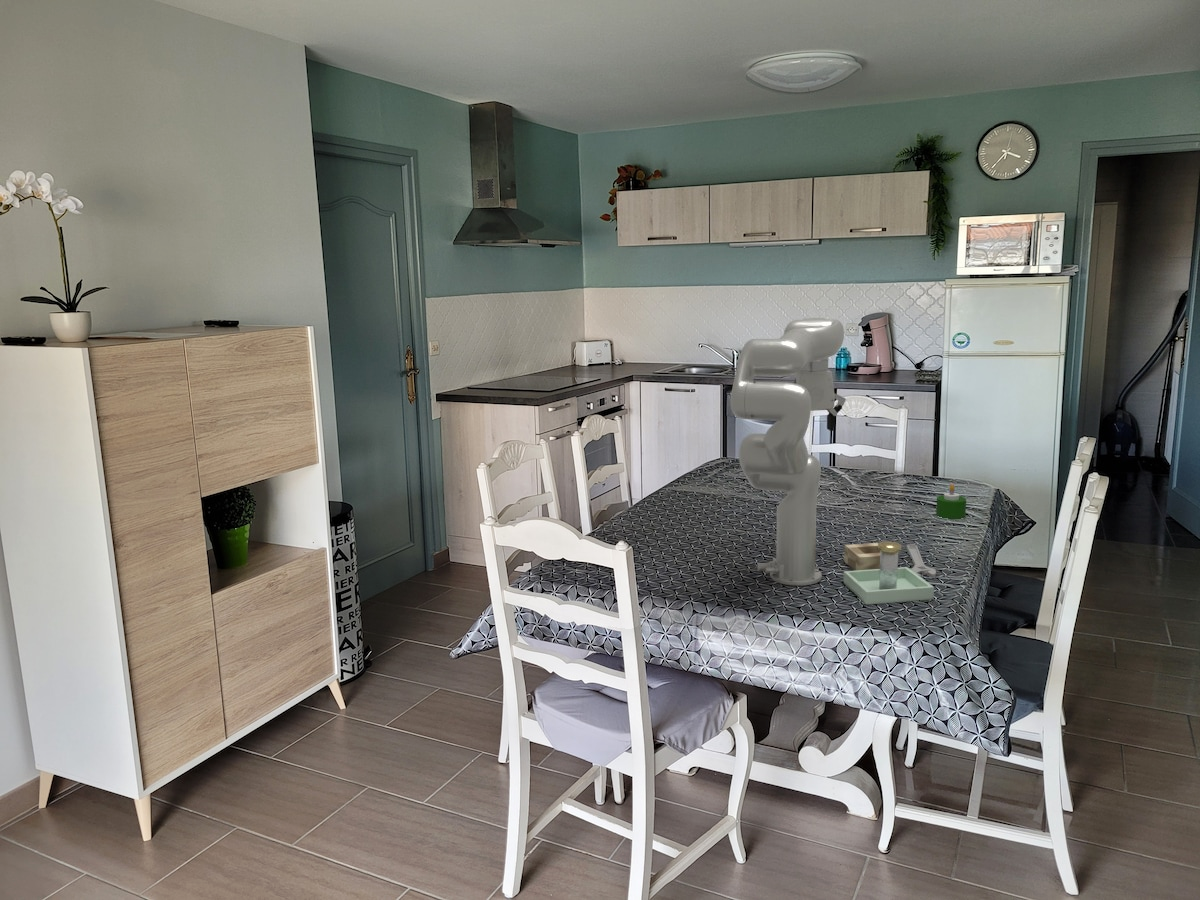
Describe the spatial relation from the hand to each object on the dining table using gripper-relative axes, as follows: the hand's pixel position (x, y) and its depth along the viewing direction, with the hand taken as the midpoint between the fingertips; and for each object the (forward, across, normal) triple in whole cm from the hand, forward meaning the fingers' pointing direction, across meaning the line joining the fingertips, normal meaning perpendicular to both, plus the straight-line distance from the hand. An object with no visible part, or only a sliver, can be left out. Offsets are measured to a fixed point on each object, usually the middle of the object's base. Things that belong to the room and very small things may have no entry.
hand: (812, 431), depth 231 cm
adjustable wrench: (+34, +24, -14) cm, 44 cm away
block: (+33, +11, -14) cm, 38 cm away
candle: (+34, +52, +24) cm, 66 cm away
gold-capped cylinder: (+33, +8, -31) cm, 46 cm away
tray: (+33, +8, -31) cm, 46 cm away
